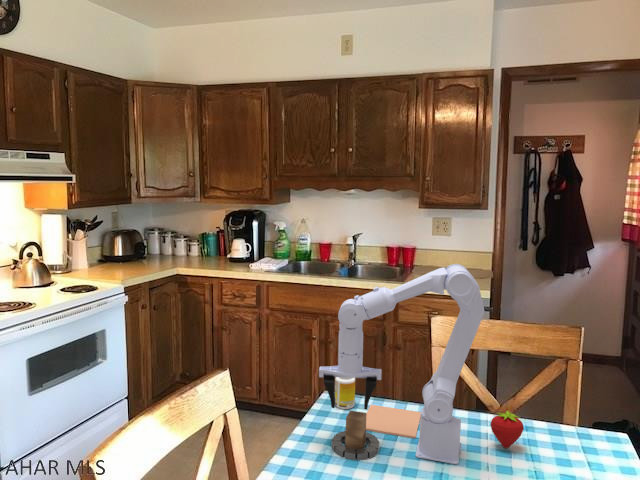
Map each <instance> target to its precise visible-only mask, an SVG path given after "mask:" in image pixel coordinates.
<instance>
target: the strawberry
mask: <svg viewBox="0 0 640 480" xmlns="http://www.w3.org/2000/svg"><path fill="white" fill-rule="evenodd" d="M496 414H497V415H495V416H494V417H493V418H492V419H491V420H490V421H491V422H490V429H491V432H492V433H493V435H494V437H495V439H497V441H498V442H499V443H500V445H501V446H502V447H503V448H504V449H509V448H510V447H511V446H512V445H513V444H514V443H516V442H517V440H518V439H520V437H521V436H522V434H523V432H524V423H523V421H521V416H517V415H516V414H514V413H512V412H511V408H510V406H509V405H508V410H507V411H505V413H504V412H503V413H500V412H496Z"/></svg>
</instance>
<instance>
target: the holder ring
mask: <svg viewBox="0 0 640 480" xmlns="http://www.w3.org/2000/svg"><path fill="white" fill-rule="evenodd" d="M345 435H346V430H342V431H340V432H338V433H335V434H334V435H333V437H332V439H331V449H332V450H333V453H335V454H336V455H337V456H338V457H340V458H343V459H345V460H350V461H351V460H352V461H364V460H365V461H366V460H368V459H372V458H374V457H375V456H377V454H379V451H380V447H381V445H380V444H381V443H380V440H379V439H378V438H377V436H376V435H374V434H372V433H370V432H369V431H366V444H368V446H365V447H364V449H351V448H347V447H345V444H343V443H345Z"/></svg>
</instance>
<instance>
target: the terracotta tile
mask: <svg viewBox="0 0 640 480" xmlns="http://www.w3.org/2000/svg"><path fill="white" fill-rule="evenodd" d="M369 405H370V406H368V408H367V410H366V413H367V414H366V432H374V433H380V434H386V435H393V436H397V437H404V438H410V439H416V438H417V435H418V429H419V427H420V415H421V411H416V410H409V409H404V408H403V409H402V408H395V407H391V406H389V407H388V406H382V405H376V404H369Z"/></svg>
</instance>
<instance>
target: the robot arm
mask: <svg viewBox="0 0 640 480" xmlns="http://www.w3.org/2000/svg"><path fill="white" fill-rule="evenodd" d="M480 288H481V286H480V285H479V284H478V282H477V281H476V279H475V278H474V276H473V275H472V274H471V273H470V271H469V270H468V268H466V267H465V266H464V265H462V264H459V263H453V264H450V265H448V266H447V267H439V268H437V269H435V270H431V271H429V272H426V274H423V275H420V276H418V277H416V278H414V279H412V280H409V281H407V282H405V283H403V284H400V285H399V286H396V287H394V288H392V289H391V288H388V287H385V286H381V287H380V286H375V287H373V289H372V291H370V292H367V293H365V294H363V295H358V294H357V295H354V297H353V298H348V299H346V300H345V301H343V302H342V304H341V305H340V308H339V310H338V314H337V315H338V316H337V320H338V322H339V325H338V327H339V331H338V348H337V349H338V354H337V355H338V357H337V364H338V365H332V366H331V365H330V366H328V365H327V366H319V369H318V378H323V379H322V380H323V385H324V387H325V388H326V391H327V392H328V396H329V400H330V404H331V408H332V409H334V408H335V407H336V405H335V379H336V377H349V378H355V379H365V391H364V392H365V393H364V401H363V402H364V403H363V405H364V406H363V407H364V408H363V409H364V410H368V408H369V402H370V400H371V396H372V394H373V392H374V390H375V388H376V387H377V381H382V369H381V368H373V367H367V366H363V363H364V362H363V359H364V331H363V323H364V321H369V320H371V319H374V318H376V317H379V316H382V315H384V314H387V313H389V312H392V311H394V309H395V308H396V305H397V303H400V302H403V301H406V300H408V299H411V298H415V297H417V296H420V295H424V294H425V293H426V294H427V293H428V292H429V293H430V292H431V293H436V294H439V295H443V296H444V295H445V291H444V290H446V292H447V293H448V295H449V296H450V297H451V298H452V299H453V300H454V301H455V302H456V303H457V306H458V307H459V313H458V316H457V318H456V321H455V323H454V325H453V328H452V330H451V333H450V335H449V339H448V341H447V343H446V345H445V348H444V351H443V354H442V356H441V358H440V361H439V363H438V366H437V369H436V371H435V372H434V373H433V374H432V376H431V378H430V380H429V381H428V382H427V383H426V384H425V385H424V386H423V387H422V392H421V394H422V399H423V403H424V404H423V405H424V406H423V407H422V409H421V410H420V412H421V415H420V422H419V438H418V439H419V440H418V443H417V447H416V451H415V457H416V458H419V459H424V460H430V461H437V462H442V463H446V464H453V465H459V461H460V459H459V458H460V452H461V451H462V443H461V427H462V419H461V418H457V417H455V416H453V412H454V406H453V405H454V403H453V402H454V399H455V395H456V389H457V388H456V387H457V383H458V380H459V377H460V375H461V373H462V370H463V368H464V365H465V362H466V360H467V357H468V355H469V352H470V350H471V347H472V344H473V341H474V339H475V337H476V335H477V333H478V329H479V327H480V325H481V322H482V319H483V317H484V315H485V307H484V303H483V298H482V294H481V289H480Z"/></svg>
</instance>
